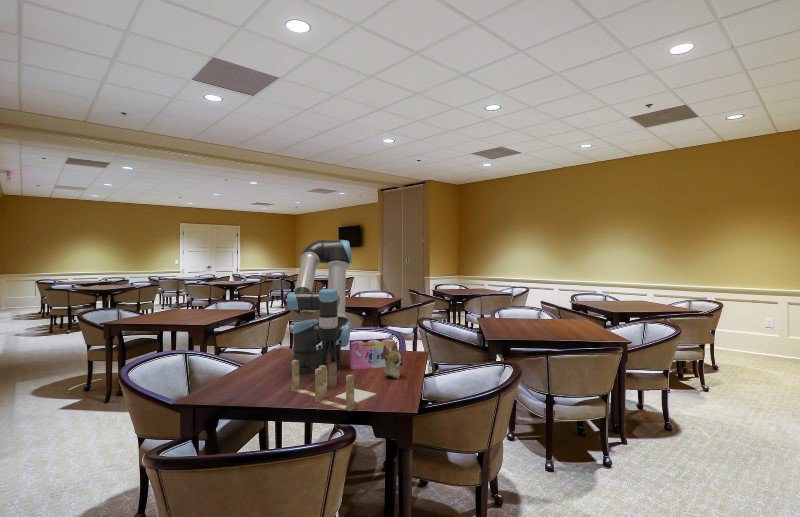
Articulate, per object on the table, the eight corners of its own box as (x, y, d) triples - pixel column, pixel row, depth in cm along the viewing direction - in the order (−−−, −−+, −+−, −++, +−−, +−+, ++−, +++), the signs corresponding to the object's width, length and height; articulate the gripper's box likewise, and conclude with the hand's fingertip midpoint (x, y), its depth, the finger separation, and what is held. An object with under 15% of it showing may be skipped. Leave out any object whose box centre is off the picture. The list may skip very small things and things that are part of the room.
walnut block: (320, 387, 173) (320, 362, 173) (328, 384, 176) (328, 360, 176) (329, 389, 170) (328, 364, 170) (336, 386, 174) (336, 362, 174)
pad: (335, 397, 160) (335, 396, 160) (354, 390, 169) (354, 388, 169) (357, 403, 154) (357, 401, 154) (376, 395, 163) (376, 393, 163)
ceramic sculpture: (395, 382, 179) (395, 347, 179) (378, 379, 183) (378, 344, 183) (408, 376, 188) (408, 342, 188) (392, 373, 192) (392, 340, 192)
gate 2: (314, 402, 155) (314, 369, 155) (319, 400, 157) (319, 368, 157) (350, 411, 146) (350, 376, 146) (354, 409, 148) (354, 375, 148)
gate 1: (291, 391, 168) (291, 360, 168) (296, 389, 170) (296, 359, 170) (322, 399, 158) (322, 367, 158) (327, 397, 160) (326, 365, 160)
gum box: (393, 363, 211) (393, 337, 211) (397, 366, 204) (397, 340, 204) (349, 366, 206) (349, 340, 206) (351, 370, 199) (350, 343, 199)
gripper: (319, 331, 164) (320, 391, 164) (349, 324, 178) (349, 380, 178) (306, 329, 168) (306, 388, 168) (336, 323, 183) (336, 377, 183)
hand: (328, 383), depth 173 cm, fingers closed on walnut block, 4 cm apart
